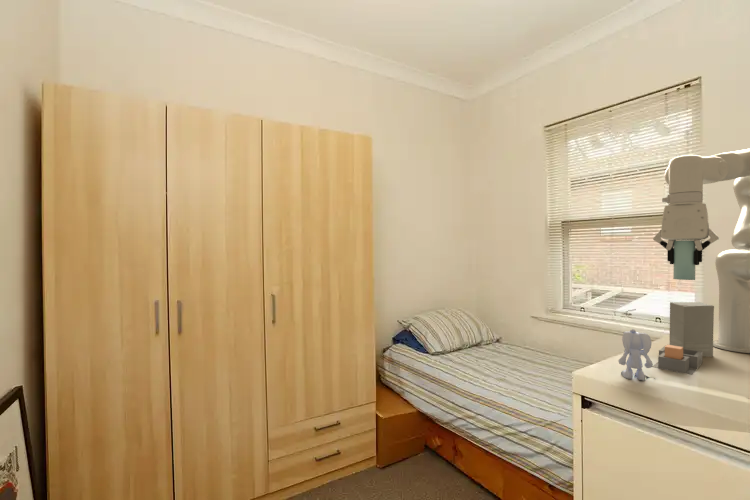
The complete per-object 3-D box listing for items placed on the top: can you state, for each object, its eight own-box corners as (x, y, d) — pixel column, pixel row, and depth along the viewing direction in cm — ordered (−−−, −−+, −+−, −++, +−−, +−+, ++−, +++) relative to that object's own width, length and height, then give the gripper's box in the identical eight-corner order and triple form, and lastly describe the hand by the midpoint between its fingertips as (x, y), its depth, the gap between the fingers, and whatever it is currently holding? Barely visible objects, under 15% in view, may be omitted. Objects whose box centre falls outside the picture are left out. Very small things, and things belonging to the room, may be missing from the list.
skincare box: (696, 353, 114) (697, 301, 114) (715, 360, 107) (716, 304, 107) (666, 352, 115) (667, 300, 115) (683, 359, 108) (684, 304, 108)
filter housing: (665, 359, 108) (665, 345, 108) (702, 366, 102) (702, 351, 102) (651, 370, 98) (652, 355, 98) (691, 378, 92) (692, 362, 92)
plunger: (667, 363, 99) (667, 344, 99) (682, 366, 96) (683, 347, 96) (664, 366, 97) (664, 346, 97) (680, 369, 94) (680, 349, 94)
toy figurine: (648, 376, 93) (648, 327, 93) (654, 384, 88) (655, 332, 88) (615, 372, 96) (616, 324, 96) (619, 379, 91) (620, 329, 90)
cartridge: (675, 278, 111) (675, 240, 111) (696, 279, 107) (697, 240, 107) (671, 279, 108) (672, 240, 107) (693, 280, 104) (694, 240, 104)
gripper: (645, 201, 111) (644, 263, 111) (724, 196, 98) (723, 266, 99) (652, 203, 116) (651, 263, 116) (727, 198, 103) (726, 265, 104)
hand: (684, 263), depth 107 cm, fingers closed on cartridge, 4 cm apart
